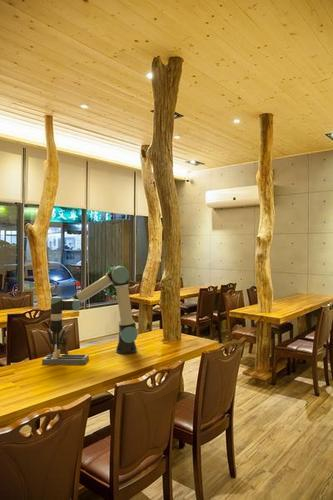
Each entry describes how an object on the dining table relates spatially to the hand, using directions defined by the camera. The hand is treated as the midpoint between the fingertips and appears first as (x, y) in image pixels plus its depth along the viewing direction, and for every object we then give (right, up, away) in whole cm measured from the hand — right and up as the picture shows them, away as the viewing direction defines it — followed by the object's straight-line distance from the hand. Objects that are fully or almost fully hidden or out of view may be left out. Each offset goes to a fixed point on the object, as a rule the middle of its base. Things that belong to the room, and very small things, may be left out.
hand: (56, 354), depth 243 cm
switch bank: (+8, -4, -3) cm, 9 cm away
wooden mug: (0, -5, +15) cm, 16 cm away
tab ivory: (+1, -2, -6) cm, 6 cm away
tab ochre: (+2, -3, 0) cm, 3 cm away
